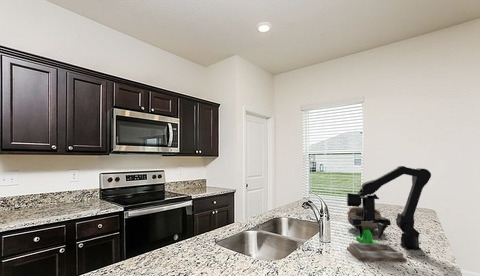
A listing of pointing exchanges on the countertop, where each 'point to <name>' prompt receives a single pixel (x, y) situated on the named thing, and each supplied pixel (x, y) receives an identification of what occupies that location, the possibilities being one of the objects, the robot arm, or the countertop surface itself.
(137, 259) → the countertop surface
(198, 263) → the countertop surface
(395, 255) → the keyed nest
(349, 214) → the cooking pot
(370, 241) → the mechanical part
